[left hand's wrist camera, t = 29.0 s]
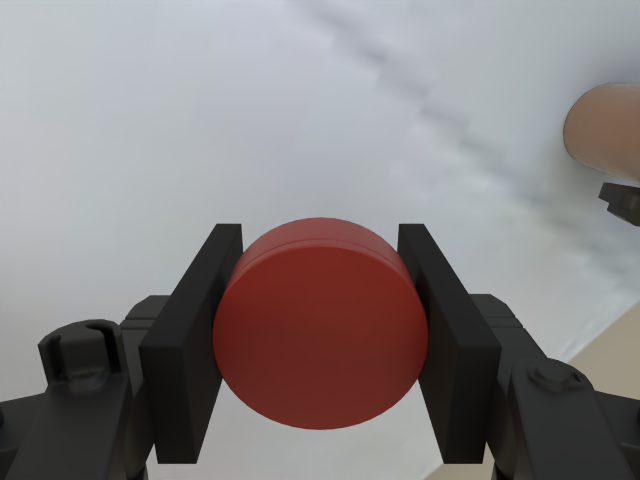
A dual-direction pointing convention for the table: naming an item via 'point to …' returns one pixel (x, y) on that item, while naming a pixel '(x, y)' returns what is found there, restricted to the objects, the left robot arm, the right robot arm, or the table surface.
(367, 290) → the lid
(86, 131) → the table surface
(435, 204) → the table surface
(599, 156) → the jar
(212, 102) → the table surface
